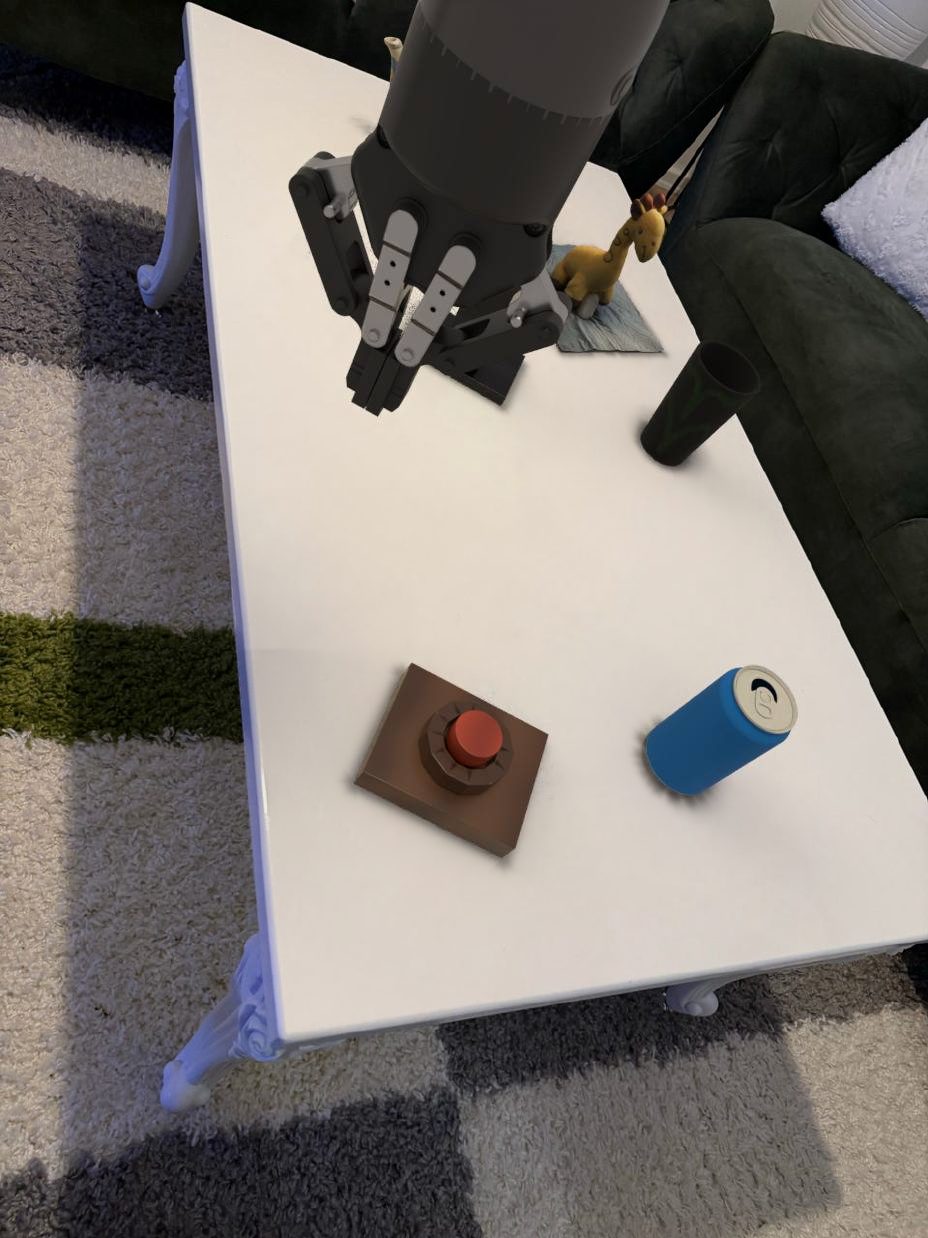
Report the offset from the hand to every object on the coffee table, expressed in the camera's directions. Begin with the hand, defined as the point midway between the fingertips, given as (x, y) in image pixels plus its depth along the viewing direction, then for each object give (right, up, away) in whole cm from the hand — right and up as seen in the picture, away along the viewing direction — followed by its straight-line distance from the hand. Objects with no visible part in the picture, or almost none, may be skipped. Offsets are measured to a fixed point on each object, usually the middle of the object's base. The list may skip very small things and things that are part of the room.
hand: (370, 399), depth 43 cm
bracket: (+4, +17, +49) cm, 52 cm away
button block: (+4, -21, +23) cm, 31 cm away
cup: (+26, +8, +54) cm, 61 cm away
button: (+5, -20, +20) cm, 28 cm away
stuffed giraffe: (+18, +28, +64) cm, 72 cm away
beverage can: (+22, -23, +31) cm, 45 cm away
